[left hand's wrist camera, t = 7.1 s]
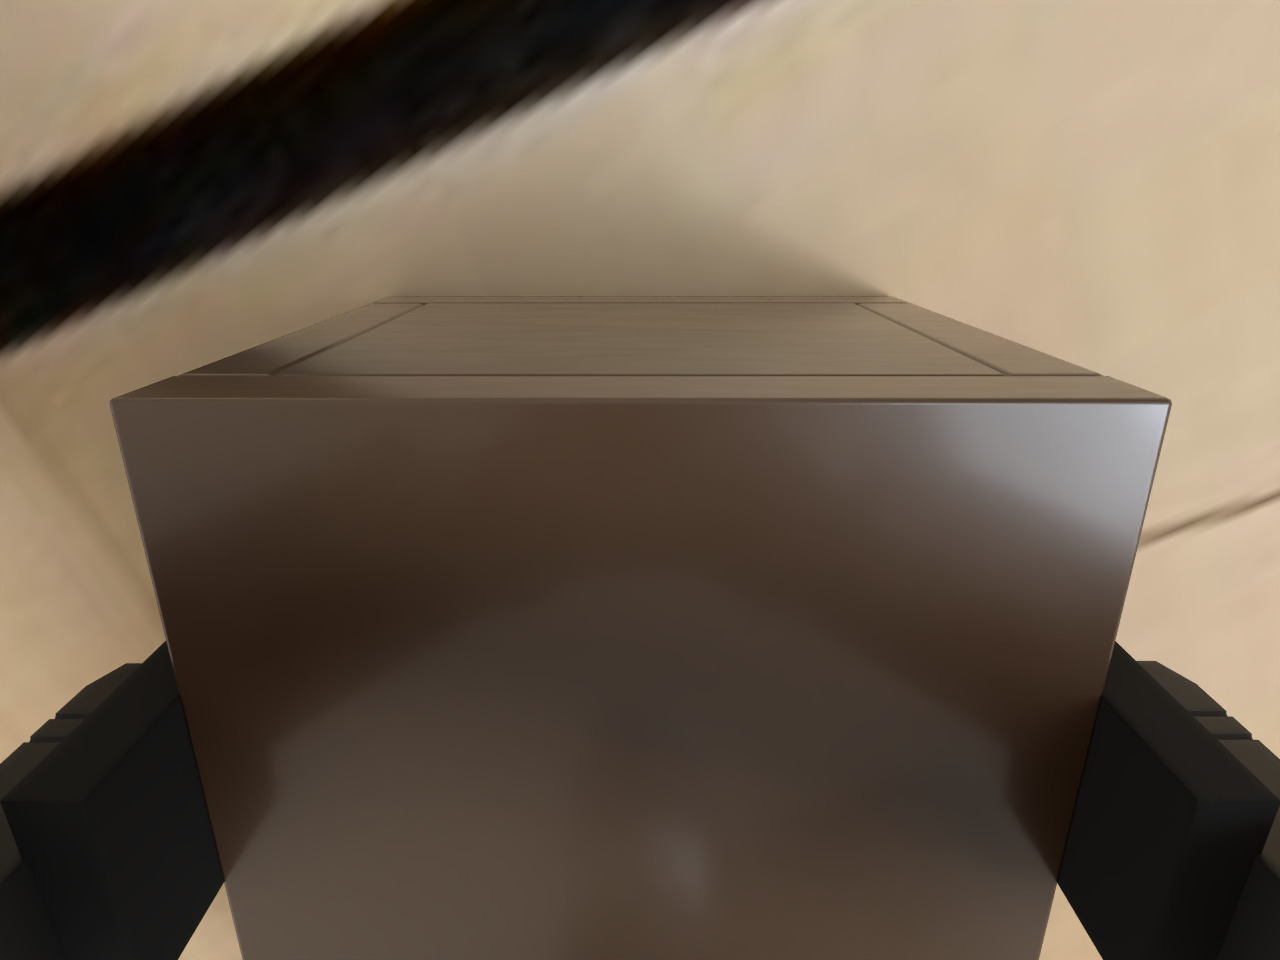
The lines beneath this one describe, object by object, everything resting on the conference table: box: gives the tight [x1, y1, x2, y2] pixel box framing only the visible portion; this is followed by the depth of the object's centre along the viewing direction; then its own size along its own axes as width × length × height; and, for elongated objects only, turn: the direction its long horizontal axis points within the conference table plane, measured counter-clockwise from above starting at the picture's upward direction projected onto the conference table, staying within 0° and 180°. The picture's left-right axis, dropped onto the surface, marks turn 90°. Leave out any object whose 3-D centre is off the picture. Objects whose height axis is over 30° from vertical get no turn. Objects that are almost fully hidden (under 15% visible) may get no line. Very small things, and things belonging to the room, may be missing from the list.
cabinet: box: [110, 297, 1172, 960], centre depth 15 cm, size 20×10×9 cm, turn 0°
